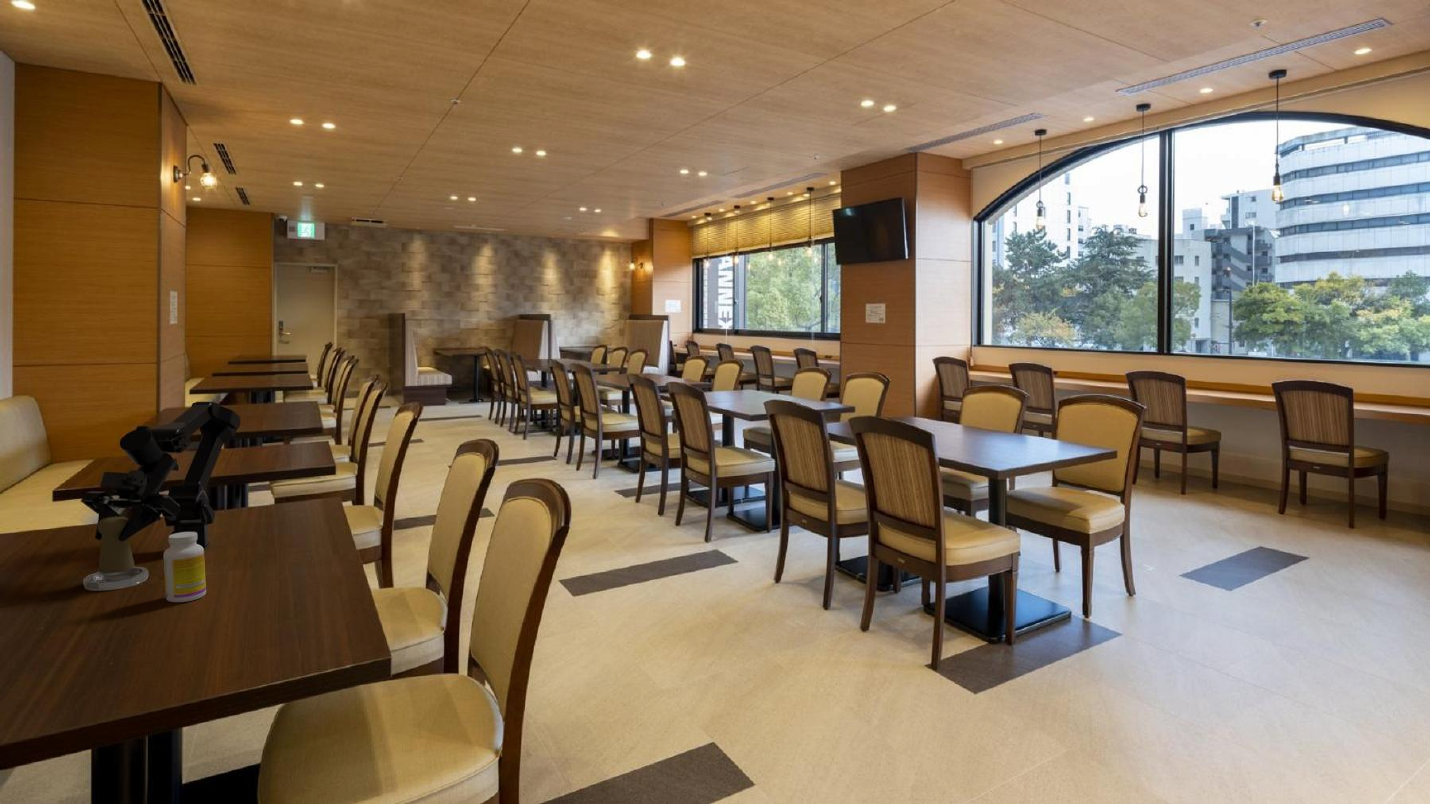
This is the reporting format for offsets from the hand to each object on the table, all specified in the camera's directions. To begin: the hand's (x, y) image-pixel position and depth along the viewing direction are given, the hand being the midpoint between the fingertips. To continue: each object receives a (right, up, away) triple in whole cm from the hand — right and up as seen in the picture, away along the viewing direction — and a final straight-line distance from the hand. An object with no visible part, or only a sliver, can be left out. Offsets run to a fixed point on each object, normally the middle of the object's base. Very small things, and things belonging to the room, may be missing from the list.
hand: (108, 539), depth 158 cm
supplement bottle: (+20, -11, -6) cm, 24 cm away
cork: (0, -7, +2) cm, 7 cm away
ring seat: (0, -9, +2) cm, 10 cm away
